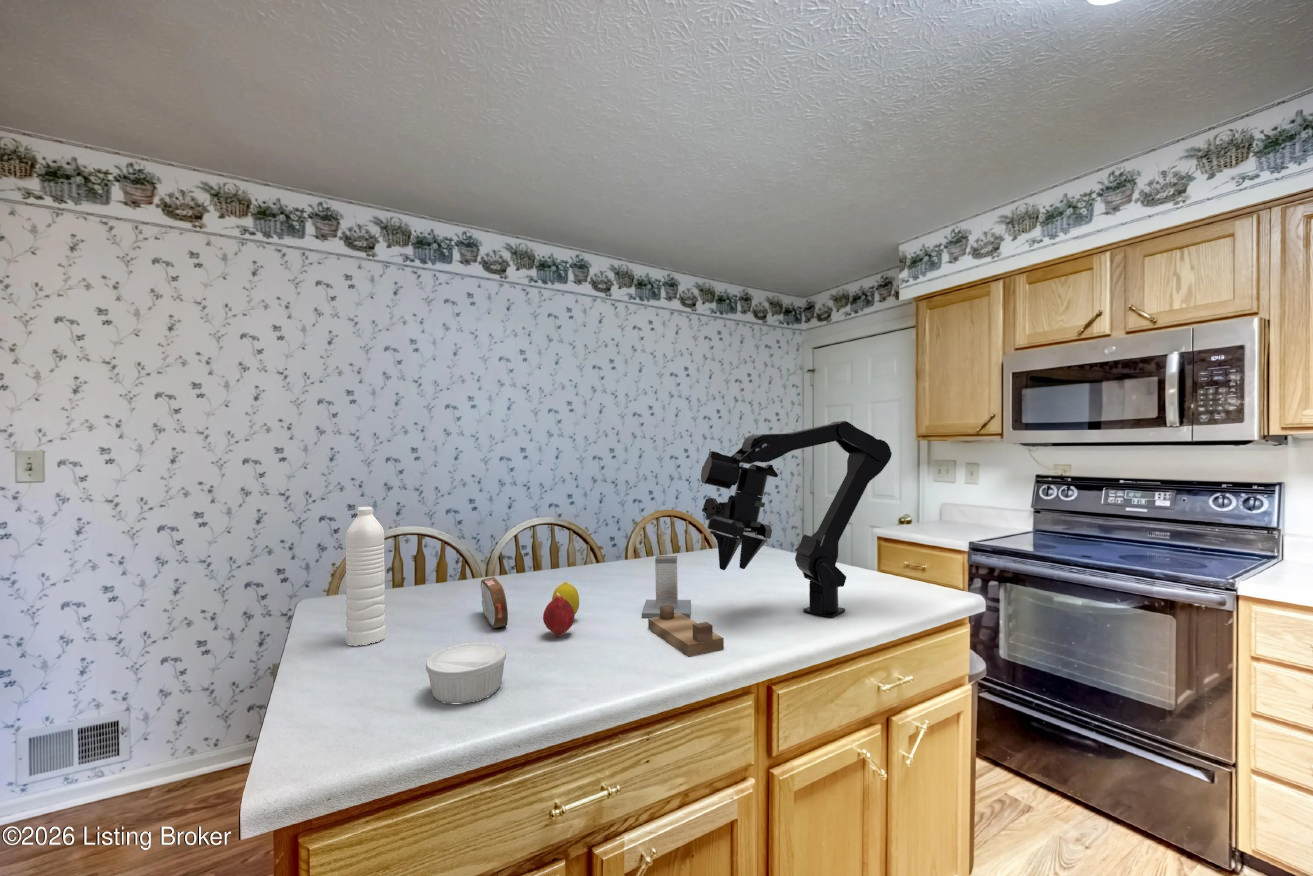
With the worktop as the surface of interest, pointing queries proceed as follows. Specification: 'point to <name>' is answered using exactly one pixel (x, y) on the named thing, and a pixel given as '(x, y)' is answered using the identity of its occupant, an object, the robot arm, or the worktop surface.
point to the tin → (494, 602)
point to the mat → (652, 611)
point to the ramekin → (466, 672)
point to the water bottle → (365, 579)
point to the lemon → (568, 595)
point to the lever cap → (666, 581)
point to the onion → (558, 615)
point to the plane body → (685, 632)
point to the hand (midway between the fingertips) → (732, 569)
